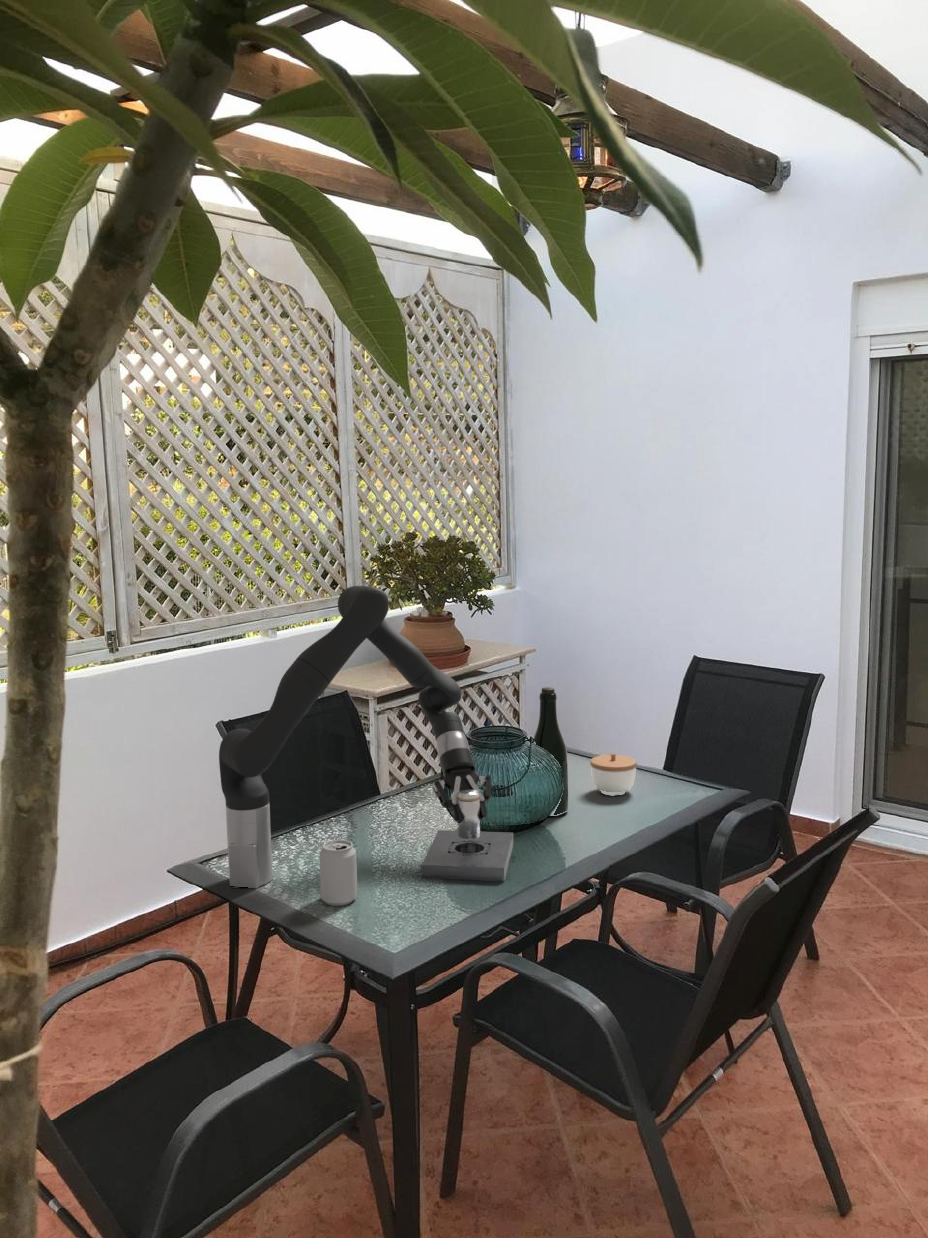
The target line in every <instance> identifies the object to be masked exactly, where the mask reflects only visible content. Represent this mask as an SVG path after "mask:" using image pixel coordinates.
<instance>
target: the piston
mask: <svg viewBox="0 0 928 1238" xmlns="http://www.w3.org/2000/svg"><path fill="white" fill-rule="evenodd" d="M480 792H481V791H480ZM480 792H479V791H478V790H474V789H464V790H460V791H458V795H457V799H458V801H457V805H459V808H460V812H461V816H462V821H461V823H457V829H458V830H457V831H458V836H459V837H460V838H463V839H474V838H478V837H479V836H480V832H481V820H480Z"/></svg>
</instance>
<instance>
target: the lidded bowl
mask: <svg viewBox="0 0 928 1238" xmlns="http://www.w3.org/2000/svg"><path fill="white" fill-rule="evenodd" d="M636 770H637V761H636V759H634V758H632V757H630V756H627V755H621V754H620V755H619V754H616V753H614V752H613V753H610V754H603V755H597V756H594V757H592V758H591V759H590V775H591V779H592V782H593V785H594V786H595V788H596V789H597V790H598V789H599V790H602V791H606V792H622V791H627V790H628V791H630V789H631V788H632V787H633V785H634V783H635V779H636V772H637V771H636ZM599 790H598V791H599ZM628 791H627V792H628Z"/></svg>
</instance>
